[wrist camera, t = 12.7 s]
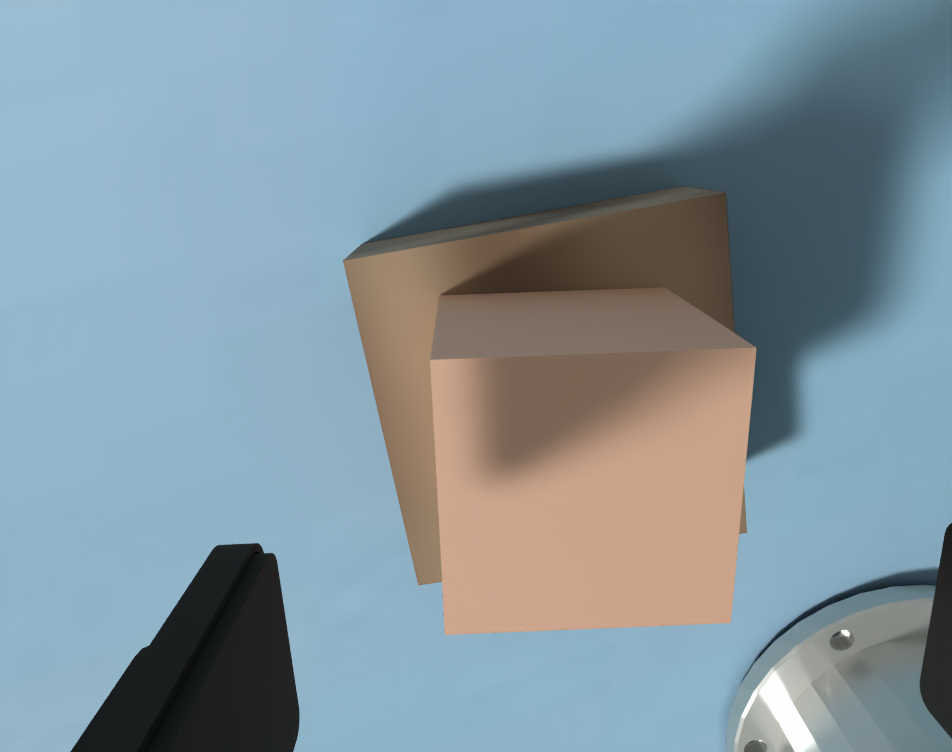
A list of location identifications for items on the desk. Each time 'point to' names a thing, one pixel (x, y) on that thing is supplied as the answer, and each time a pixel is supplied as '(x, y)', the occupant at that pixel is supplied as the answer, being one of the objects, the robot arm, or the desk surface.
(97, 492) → the desk surface
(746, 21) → the desk surface
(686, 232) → the walnut block
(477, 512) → the terracotta cube
